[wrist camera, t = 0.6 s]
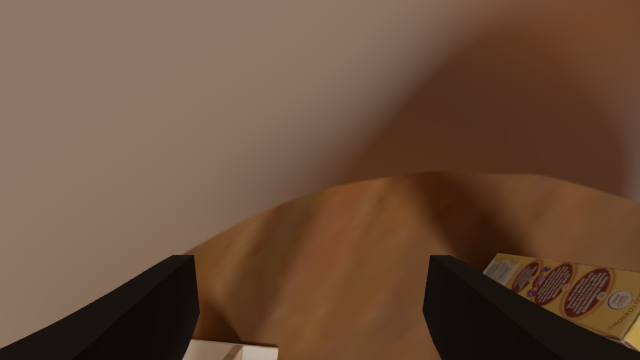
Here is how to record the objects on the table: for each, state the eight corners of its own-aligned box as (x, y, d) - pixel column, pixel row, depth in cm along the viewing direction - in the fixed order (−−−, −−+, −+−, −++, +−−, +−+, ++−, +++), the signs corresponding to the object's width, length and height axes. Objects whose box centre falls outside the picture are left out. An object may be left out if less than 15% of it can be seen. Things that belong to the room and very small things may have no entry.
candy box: (469, 288, 30) (618, 339, 15) (495, 251, 30) (665, 264, 15) (551, 354, 28) (806, 483, 13) (577, 315, 29) (848, 397, 14)
